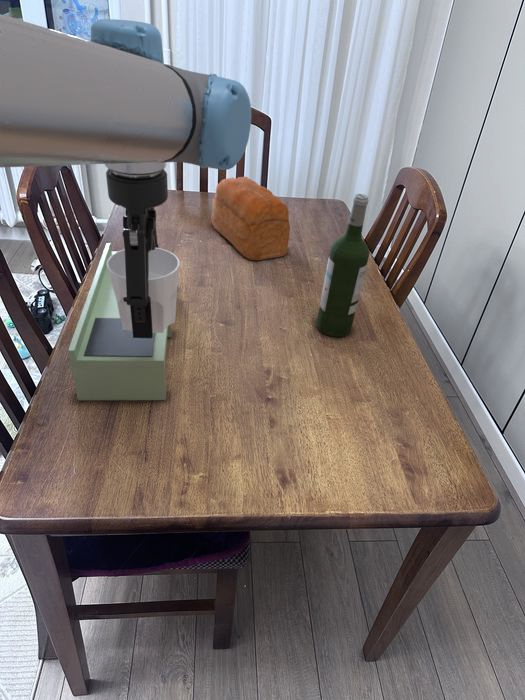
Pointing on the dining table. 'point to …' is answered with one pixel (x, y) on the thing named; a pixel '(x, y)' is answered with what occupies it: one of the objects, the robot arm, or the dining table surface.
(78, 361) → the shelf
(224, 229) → the bread
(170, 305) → the cup
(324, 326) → the wine bottle
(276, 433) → the dining table surface
